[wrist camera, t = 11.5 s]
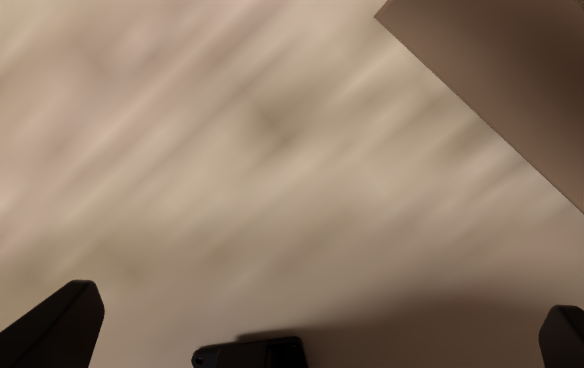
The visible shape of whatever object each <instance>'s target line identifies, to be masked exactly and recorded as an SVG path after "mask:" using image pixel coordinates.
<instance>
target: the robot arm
mask: <svg viewBox="0 0 584 368" xmlns="http://www.w3.org/2000/svg"><path fill="white" fill-rule="evenodd" d="M104 314H105V309H104V304H103V302H102V299H101V296H100V294H99V291H98V289H97V286H96V284H95V283H94V282H93V281H91V280H72V281H70V282H68V283H67V284H66V285H64V286H63V287H61V288H60V289H59V290H57V291H56V292H55V293H53V294H52V295H51V296H49V297H48V298H46V299H45V300H44V301H42V302H41V303H40V304H38V305H37V306H36V307H34V308H33V309H31V310H30V311H29V312H27V313H26V314H25V315H23V316H22V317H21V318H19V319H18V320H16V321H15V322H14V323H12V324H11V325H10V326H8V327H7V328H6V329H4V330H3V331H1V332H0V368H88V366H89V363H90V360H91V357H92V354H93V351H94V347H95V344H96V341H97V338H98V335H99V332H100V328H101V325H102V322H103V319H104ZM292 345H296V347H292ZM539 345H540V349H541V353H542V357H543V361H544V365H545V368H584V311H583V310H582V309H581V308H579V307H577V306H571V305H554V306H553V307H551V309H550V311H549V313H548V315H547V317H546V319H545V321H544V323H543V325H542V327H541V329H540V332H539ZM199 358H202V359H199ZM191 362H192V365H193V367H194V368H310V367H309V364H308V360H307V356H306V353H305V349H304V345H303V342H302V340H301V339H300V338H298V337H286V338H279V339H271V340H264V341H257V342H250V343H243V344H236V345H228V346H221V347H214V348H207V349H200V350H196V351H195V352H194V353H193V356H192V359H191Z"/></svg>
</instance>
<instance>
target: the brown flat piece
mask: <svg viewBox="0 0 584 368" xmlns="http://www.w3.org/2000/svg"><path fill="white" fill-rule="evenodd" d="M374 18H376V19H377V20H378V21H379V22H380V23H381V24H382V25H383V26H384V27H385V28H386V29H387V30H388V31H389V32H390V33H392V34H393V35H394V36H395V37H396V38H397V39H398V40H399V41H400V42H401V43H402V44H403V45H404V46H405V47H406V48H407V49H409V50H410V51H411V52H412V53H413V54H414V55H415V56H416V57H417V58H418V59H419V60H420V61H421V62H422V63H423V64H425V65H426V66H427V67H428V68H429V69H430V70H431V71H432V72H433V73H434V74H435V75H436V76H437V77H438V78H439V79H440V80H442V81H443V82H444V83H445V84H446V85H447V86H448V87H449V88H450V89H451V90H452V91H453V92H454V93H455V94H456V95H457V96H459V97H460V98H461V99H462V100H463V101H464V102H465V103H466V104H467V105H468V106H469V107H470V108H471V109H472V110H473V111H475V112H476V113H477V114H478V115H479V116H480V117H481V118H482V119H483V120H484V121H485V122H486V123H487V124H488V125H489V126H490V127H492V128H493V129H494V130H495V131H496V132H497V133H498V134H499V135H500V136H501V137H502V138H503V139H504V140H505V141H506V142H508V143H509V144H510V145H511V146H512V147H513V148H514V149H515V150H516V151H517V152H518V153H519V154H520V155H521V156H522V157H523V158H525V159H526V160H527V161H528V162H529V163H530V164H531V165H532V166H533V167H534V168H535V169H536V170H537V171H538V172H539V173H541V174H542V175H543V176H544V177H545V178H546V179H547V180H548V181H549V182H550V183H551V184H552V185H553V186H554V187H555V188H556V189H558V190H559V191H560V192H561V193H562V194H563V195H564V196H565V197H566V198H567V199H568V200H569V201H570V202H571V203H572V204H574V205H575V206H576V207H577V208H578V209H579V210H580V211H581V212H582V213H583V214H584V9H583V8H582V7H581V6H580V5H579V3H578V2H577V1H576V0H388V1H387V2H386V3H385V4H384V5H383V7H382V8H381V9H380V10H379V11H378V12H377V14H376V15H375V16H374Z"/></svg>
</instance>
